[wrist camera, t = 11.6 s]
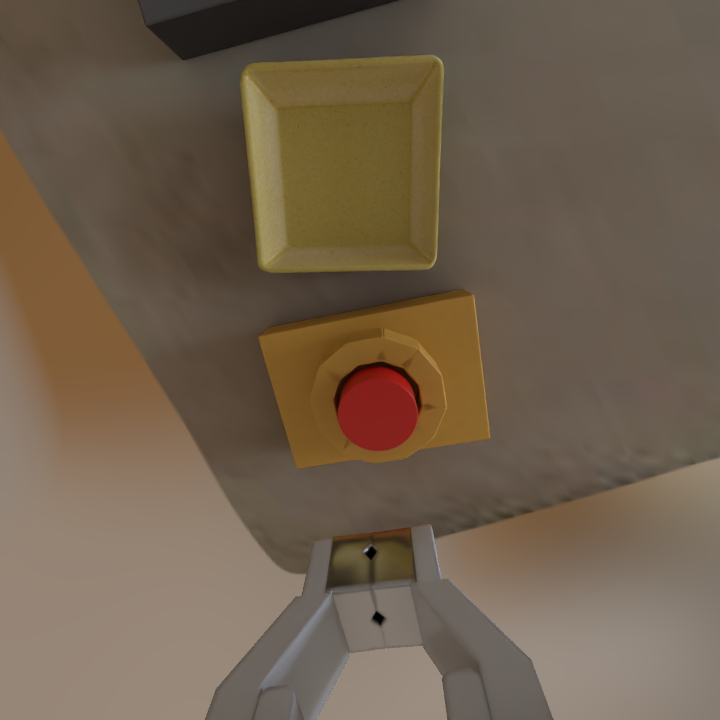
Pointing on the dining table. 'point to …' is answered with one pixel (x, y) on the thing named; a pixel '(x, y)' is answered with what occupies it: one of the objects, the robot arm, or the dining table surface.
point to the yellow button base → (388, 349)
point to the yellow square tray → (344, 162)
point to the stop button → (377, 409)
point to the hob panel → (236, 20)
